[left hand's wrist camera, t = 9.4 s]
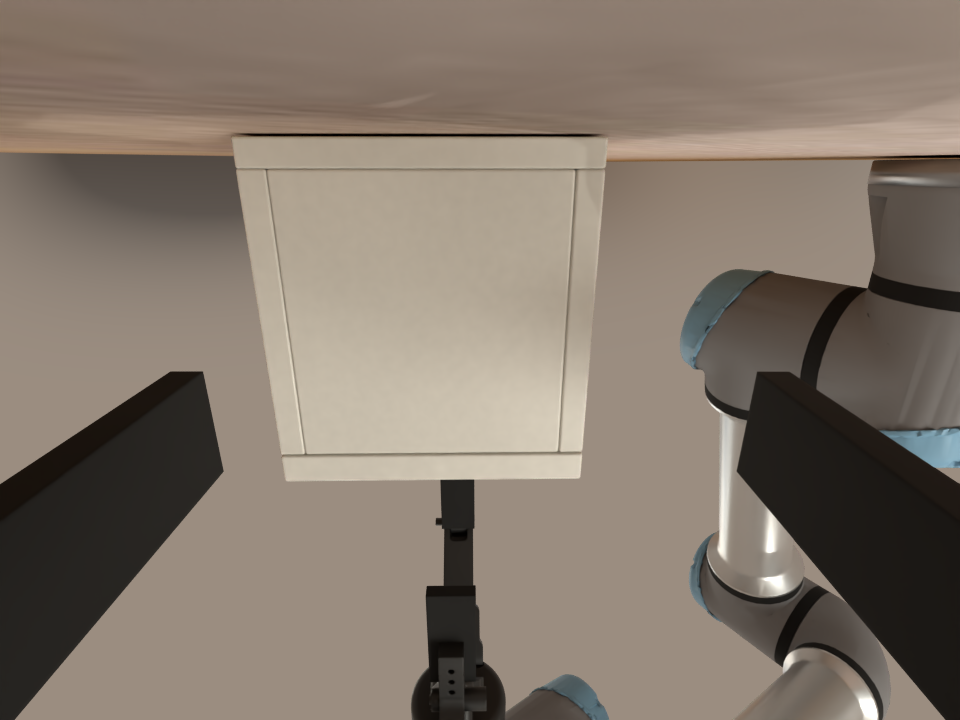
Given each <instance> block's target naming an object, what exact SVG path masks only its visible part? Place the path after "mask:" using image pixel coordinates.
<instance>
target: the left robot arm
mask: <svg viewBox="0 0 960 720" xmlns="http://www.w3.org/2000/svg"><path fill="white" fill-rule="evenodd" d="M736 472H737V473H738V474H739V475H740V476H741V478H742V479H743V480H744V481H745V482H746V483H747V485H748V486H749V487H750V488H751V489H752V491H753V492H754V493H755V494H756V495H757V497H758V498H759V499H760V500H761V501H762V502H763V504H764V505H765V506H766V507H767V508H768V510H769V511H770V512H771V513H772V514H773V516H774V517H775V518H776V519H777V520H778V521H779V523H780V524H781V525H782V526H783V527H784V529H785V530H786V531H787V532H788V533H789V535H790V536H791V537H792V538H793V539H794V540H795V542H796V543H797V544H798V545H799V546H800V548H801V549H802V550H803V551H804V552H805V554H806V555H807V556H808V557H809V558H810V559H811V561H812V562H813V563H814V564H815V565H816V567H817V568H818V569H819V570H820V571H821V573H822V574H823V575H824V576H825V577H826V578H827V580H828V581H829V582H830V583H831V584H832V586H833V587H834V588H835V589H836V590H837V592H838V593H839V594H840V595H841V596H842V597H843V599H844V600H845V601H846V602H847V603H848V605H849V606H850V607H851V608H852V609H853V611H854V612H855V613H856V614H857V615H858V616H859V618H860V619H861V620H862V621H863V622H864V624H865V625H866V626H867V627H868V628H869V630H870V631H871V632H872V633H873V634H874V635H875V637H876V638H877V639H878V640H879V641H880V642H881V644H882V645H883V646H884V647H885V649H886V650H887V651H888V652H889V653H890V654H891V656H892V657H893V658H894V659H895V660H896V662H897V663H898V664H899V665H900V666H901V668H902V669H903V670H904V671H905V672H906V673H907V675H908V676H909V677H910V678H911V679H912V680H913V682H914V683H915V684H916V685H917V686H918V688H919V689H920V690H921V691H922V692H923V694H924V695H925V696H926V697H927V698H928V700H929V701H930V702H931V703H932V704H933V706H934V707H935V708H936V709H937V710H938V711H939V713H940V714H941V715H942V716H943V717H944V719H945V720H960V484H959V483H957V482H956V481H954V480H953V479H951V478H950V477H948V476H947V475H945V474H944V473H942V472H940V471H939V470H937V469H936V468H934V467H933V466H931V465H930V464H928V463H927V462H925V461H924V460H922V459H921V458H919V457H918V456H916V455H915V454H913V453H912V452H910V451H909V450H907V449H906V448H904V447H903V446H901V445H900V444H898V443H897V442H895V441H894V440H892V439H891V438H889V437H888V436H886V435H885V434H883V433H882V432H880V431H879V430H877V429H876V428H874V427H872V426H871V425H869V424H868V423H866V422H865V421H863V420H862V419H860V418H859V417H857V416H856V415H854V414H853V413H851V412H850V411H848V410H847V409H845V408H844V407H842V406H841V405H839V404H838V403H836V402H835V401H833V400H832V399H830V398H829V397H827V396H826V395H824V394H823V393H821V392H820V391H818V390H817V389H815V388H814V387H812V386H810V385H809V384H807V383H806V382H804V381H803V380H801V379H800V378H798V377H797V376H795V375H794V374H792V373H791V372H757V374H756V379H755V384H754V389H753V394H752V399H751V403H750V408H749V413H748V418H747V423H746V428H745V432H744V437H743V442H742V447H741V452H740V457H739V462H738V466H737V471H736ZM222 473H223V466H222V462H221V457H220V452H219V447H218V442H217V437H216V432H215V428H214V423H213V418H212V413H211V408H210V404H209V399H208V394H207V389H206V384H205V379H204V374H203V372H169V373H168V374H166V375H165V376H163V377H162V378H160V379H159V380H157V381H156V382H154V383H153V384H151V385H150V386H148V387H146V388H145V389H144V390H142V391H141V392H139V393H137V394H136V395H135V396H133V397H131V398H130V399H128V400H127V401H125V402H124V403H122V404H121V405H119V406H118V407H116V408H115V409H113V410H112V411H110V412H109V413H107V414H106V415H104V416H103V417H101V418H100V419H98V420H97V421H95V422H94V423H92V424H91V425H89V426H88V427H86V428H84V429H83V430H81V431H80V432H78V433H77V434H75V435H74V436H72V437H71V438H69V439H68V440H66V441H65V442H63V443H62V444H60V445H59V446H57V447H56V448H54V449H53V450H51V451H50V452H48V453H47V454H45V455H44V456H42V457H41V458H39V459H38V460H36V461H35V462H33V463H32V464H30V465H29V466H27V467H26V468H24V469H23V470H21V471H20V472H18V473H17V474H15V475H13V476H12V477H10V478H9V479H7V480H6V481H4V482H3V483H1V484H0V720H15V719H16V717H17V716H18V715H19V714H20V713H21V711H22V710H23V709H24V708H25V707H26V706H27V704H28V703H29V702H30V701H31V700H32V698H33V697H34V696H35V695H36V694H37V692H38V691H39V690H40V689H41V688H42V687H43V685H44V684H45V683H46V682H47V681H48V679H49V678H50V677H51V676H52V675H53V673H54V672H55V671H56V670H57V669H58V668H59V666H60V665H61V664H62V663H63V662H64V660H65V659H66V658H67V657H68V656H69V654H70V653H71V652H72V651H73V650H74V649H75V647H76V646H77V645H78V644H79V643H80V641H81V640H82V639H83V638H84V637H85V635H86V634H87V633H88V632H89V631H90V630H91V628H92V627H93V626H94V625H95V624H96V622H97V621H98V620H99V619H100V618H101V616H102V615H103V614H104V613H105V612H106V611H107V609H108V608H109V607H110V606H111V605H112V603H113V602H114V601H115V600H116V599H117V597H118V596H119V595H120V594H121V593H122V591H123V590H124V589H125V588H126V587H127V586H128V584H129V583H130V582H131V581H132V580H133V578H134V577H135V576H136V575H137V574H138V573H139V571H140V570H141V569H142V568H143V567H144V565H145V564H146V563H147V562H148V561H149V559H150V558H151V557H152V556H153V555H154V553H155V552H156V551H157V550H158V549H159V547H160V546H161V545H162V544H163V543H164V542H165V540H166V539H167V538H168V537H169V536H170V534H171V533H172V532H173V531H174V530H175V529H176V527H177V526H178V525H179V524H180V523H181V521H182V520H183V519H184V518H185V517H186V516H187V514H188V513H189V512H190V511H191V510H192V508H193V507H194V506H195V505H196V504H197V502H198V501H199V500H200V499H201V498H202V496H203V495H204V494H205V493H206V492H207V490H208V489H209V488H210V487H211V486H212V485H213V483H214V482H215V481H216V480H217V479H218V478H219V476H220V475H221V474H222Z"/></svg>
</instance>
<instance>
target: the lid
mask: <svg viewBox="0 0 960 720" xmlns="http://www.w3.org/2000/svg"><path fill="white" fill-rule="evenodd" d="M581 462H582V454H581V451H580V452H561V451H559V449H558V451H556V452H463V453H347V454H307V453H306V452H305V454H283V455H282V463H283V470H284V476H285V480H286V481H353V480H459V479H563V478H580V474H581Z"/></svg>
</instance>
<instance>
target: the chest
mask: <svg viewBox="0 0 960 720" xmlns="http://www.w3.org/2000/svg"><path fill="white" fill-rule="evenodd" d="M231 141H232V147H233V154H234V160H235V166H236V168H238V169H237V170H236V173H237V179H238V186H239V192H240V198H241V205H242V211H243V217H244V223H245V230H246V236H247V242H248V249H249V255H250V262H251V268H252V274H253V281H254V287H255V293H256V300H257V306H258V312H259V318H260V325H261V331H262V337H263V344H264V350H265V356H266V363H267V369H268V375H269V382H270V388H271V394H272V401H273V407H274V413H275V420H276V426H277V432H278V439H279V445H280V451H281V454H305V452H306V453H307V454H347V453H463V452H556V451H558V449H559V451H561V452H580V451H582V448H583V436H584V424H585V411H586V399H587V387H588V375H589V362H590V350H591V338H592V325H593V313H594V301H595V289H596V276H597V264H598V252H599V239H600V228H601V215H602V203H603V191H604V179H605V171H604V170H603V169H604V168H605V166H606V156H607V144H608V139H607V137H466V136H233V137H231Z"/></svg>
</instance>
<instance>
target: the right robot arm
mask: <svg viewBox="0 0 960 720" xmlns="http://www.w3.org/2000/svg"><path fill="white" fill-rule="evenodd" d="M868 195H869V206H870V215H871V224H872V232H873V241H874V250H875V262H874V267H873V271H872V274H871V278H870V282H869V286H868V288H861V287H856V286H849V285H843V284H837V283H831V282H825V281H819V280H813V279H807V278H801V277H795V276H789V275H783V274H777V273H774V272H773V271H769V270H766V271H762V272H760V271H751V270H743V269H735V270H730V271H727V272H725V273H722V274H720V275H719V276H717V277H716V278H714V279H713V280H712V281H711V282H710V283H709V284H708V285H707V286H706V287H705V288H704V289H703V290H702V291H701V293H700V294H699V295H698V297H697V298H696V300H695V302H694V304H693V305H692V307H691V308H690V310H689V312H688V314H687V317H686V319H685V322H684V325H683V328H682V332H681V338H680V351H681V355H682V358H683V360H684V361H685V362H686V363H688V364H689V365H690V366H691V367H692V368H693V369H701V370H703V371H704V373H705V395H706V398H707V400H708V402H709V403H710V404H711V406H712V407H713V408H715V409H716V410H717V411H718V412H720V430H719V531H718V532H716V533H713V534H712V535H710V536H709V537H708V538H706V539H705V540H704V542H703V543H702V544H701V545H700V547H699V548H698V550H697V552H696V554H695V556H694V558H693V560H694V564H693V565H692V566H691V568H690V573H689V585H690V590H691V593H692V595H693V597H694V599H695V600H696V601H697V603H698V604H699V605H701V606H702V607H703V608H704V609H705V610H707V612H708V613H709V614H710V615H711V616H712V617H713V618H715V619H716V620H718V621H720V622H723V623H724V624H725V625H727V626H728V627H730V628H731V629H732V630H733V631H735V632H736V633H737V634H739V635H740V636H742V637H743V638H744V639H745V640H747V641H748V642H749V643H751V644H752V645H753V646H755V647H756V648H757V649H759V650H760V651H761V652H763V653H764V654H765V655H767V656H768V657H769V658H771V659H772V660H773V661H775V662H776V663H777V664H779V665H780V666H781V667H783V675H782V676H780V677H779V678H778V679H777V680H776V681H775V682H774V683H773V684H771V685H770V686H769V687H768V688H767V689H766V690H765V691H764V692H763V693H761V694H760V695H759V696H758V697H757V698H756V699H755V700H754V701H752V702H751V703H750V704H749V705H748V706H747V707H746V708H745V709H744V710H742V711H741V712H740V713H739V714H738V715H737V716H736V717H735V718H734V719H732V720H884V718H885V716H886V713H887V710H888V707H889V704H890V692H891V687H890V675H889V671H888V667H887V662H886V659H885V657H884V654H883V651H882V649H881V647H880V645H879V643H878V641H877V639H876V637H875V635H874V634H873V633H872V632H871V631H870V630H869V628H868V627H867V626H866V625H865V624H864V622H863V621H862V620H861V619H860V618H859V616H858V615H857V614H856V613H855V612H854V611H853V609H852V608H851V607H850V606H849V605H848V604H847V603H846V602H844V601H843V600H842V599H840V598H839V597H837V596H835V595H834V594H832V593H830V592H829V591H827V590H825V589H823V588H822V587H820V586H819V585H817V584H815V583H814V582H812V581H810V580H809V579H807V578H805V577H804V563H803V559H802V557H801V554H800V553H799V551H798V550H797V548H796V547H795V546H794V545H793V542H794V539H793V538H792V537H791V536H790V535H789V533H788V532H787V531H786V530H785V529H784V527H783V526H782V525H781V524H780V523H779V521H778V520H777V519H776V518H775V517H774V516H773V514H772V513H771V512H770V511H769V510H768V508H767V507H766V506H765V505H764V504H763V502H762V501H761V500H760V499H759V498H758V497H757V495H756V494H755V493H754V492H753V491H752V489H751V488H750V487H749V486H748V485H747V483H746V482H745V481H744V480H743V479H742V478H741V476H740V475H739V474H738V473H737V472H736V471H737V466H738V462H739V457H740V452H741V447H742V442H743V437H744V432H745V428H746V423H747V418H748V413H749V408H750V403H751V399H752V394H753V389H754V384H755V379H756V374H757V372H791V373H792V374H794V375H795V376H797V377H798V378H800V379H801V380H803V381H804V382H806V383H807V384H809V385H810V386H812V387H814V388H815V389H817V390H818V391H820V392H821V393H823V394H824V395H826V396H827V397H829V398H830V399H832V400H833V401H835V402H836V403H838V404H839V405H841V406H842V407H844V408H845V409H847V410H848V411H850V412H851V413H853V414H854V415H856V416H857V417H859V418H860V419H862V420H863V421H865V422H866V423H868V424H869V425H871V426H872V427H874V428H876V429H877V430H879V431H880V432H882V433H883V434H885V435H886V436H888V437H889V438H891V439H892V440H894V441H895V442H897V443H898V444H900V445H901V446H903V447H904V448H906V449H907V450H909V451H910V452H912V453H913V454H915V455H916V456H918V457H919V458H921V459H922V460H924V461H925V462H927V463H928V464H930V465H931V466H933V467H936V468H947V467H949V468H960V159H920V160H875V161H873V163H872V167H871V171H870V175H869V179H868ZM441 511H442V518H436V525H442V529H444V586H427V590H426V612H427V633H428V654H429V667H428V668H427V669H426V670H425V671H424V672H423V673H422V675H421V676H420V677H419V679H418V681H417V683H416V685H415V687H414V690H413V694H412V699H411V713H412V720H609V717H608V715H607V712H606V710H605V708H604V706H603V705H601V704H600V702H599V701H598V699H597V695H596V693H595V692H594V691H593V689H592V688H591V687H590V686H589V685H588V684H587V683H586V682H584V681H583V680H582V679H580V678H579V677H576V676H574V675H569V674H566V675H562V676H560V677H558V678H556V679H555V680H553V681H551V682H549V683H548V684H546V685H544V686H542V687H541V688H537V689H535V690H534V691H532V693H531V694H530V695H529V696H528V697H526V698H525V699H523V700H522V701H521V702H519V703H518V704H516V705H515V706H514V707H512V708H511V709H509V710H508V711H506V712H505V703H506V701H505V692H504V688H503V685H502V682H501V680H500V678H499V677H498V675H497V674H496V672H495V671H494V670H493V669H492V668H491V667H490V666H489V665H487V664H486V663H484V662H483V645H482V641H481V639H480V636H479V607H478V606H477V605H476V588H475V585H473V528H474V479H459V480H441Z"/></svg>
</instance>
